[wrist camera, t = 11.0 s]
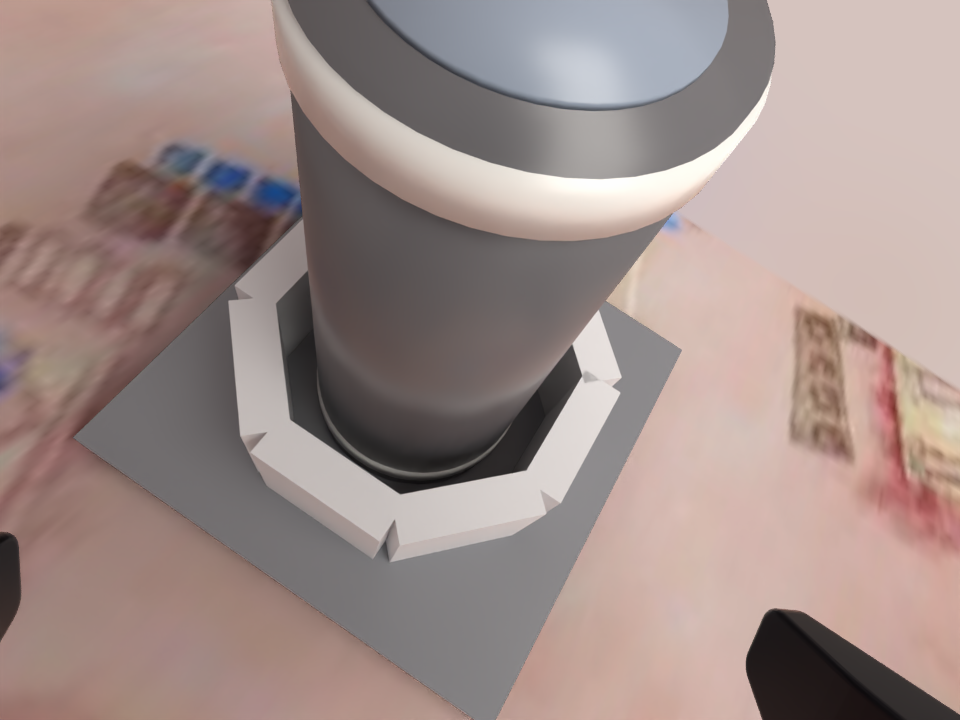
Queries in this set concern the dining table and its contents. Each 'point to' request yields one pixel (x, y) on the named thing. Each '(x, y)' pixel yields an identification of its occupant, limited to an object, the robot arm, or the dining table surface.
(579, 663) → the dining table surface
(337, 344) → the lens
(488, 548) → the stand
